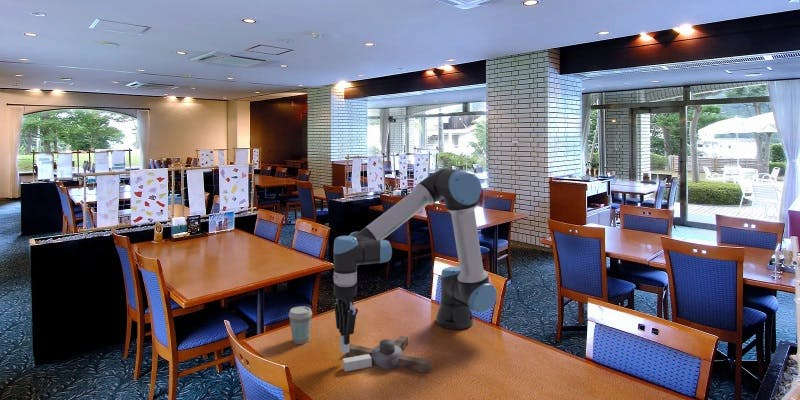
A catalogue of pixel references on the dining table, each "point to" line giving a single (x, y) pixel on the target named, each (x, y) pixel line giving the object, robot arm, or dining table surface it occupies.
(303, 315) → the coffee cup
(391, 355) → the stool base
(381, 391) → the dining table surface
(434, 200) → the robot arm
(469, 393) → the dining table surface
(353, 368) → the folding leg
